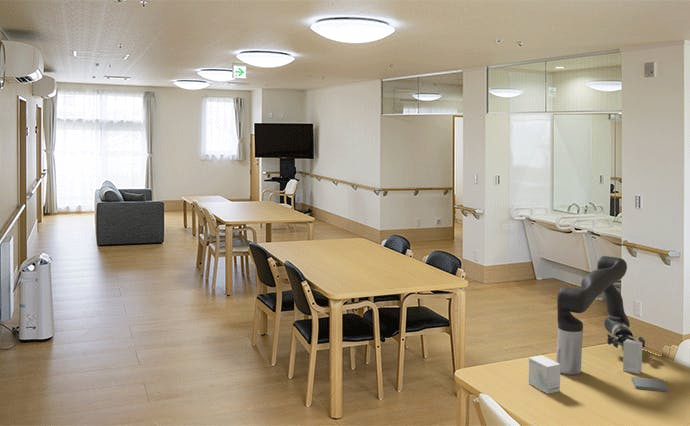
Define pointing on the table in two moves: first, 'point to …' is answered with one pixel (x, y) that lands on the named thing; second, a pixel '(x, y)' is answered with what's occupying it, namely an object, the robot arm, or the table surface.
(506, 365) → the table surface
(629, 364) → the skincare box
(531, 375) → the skincare box
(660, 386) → the mat
